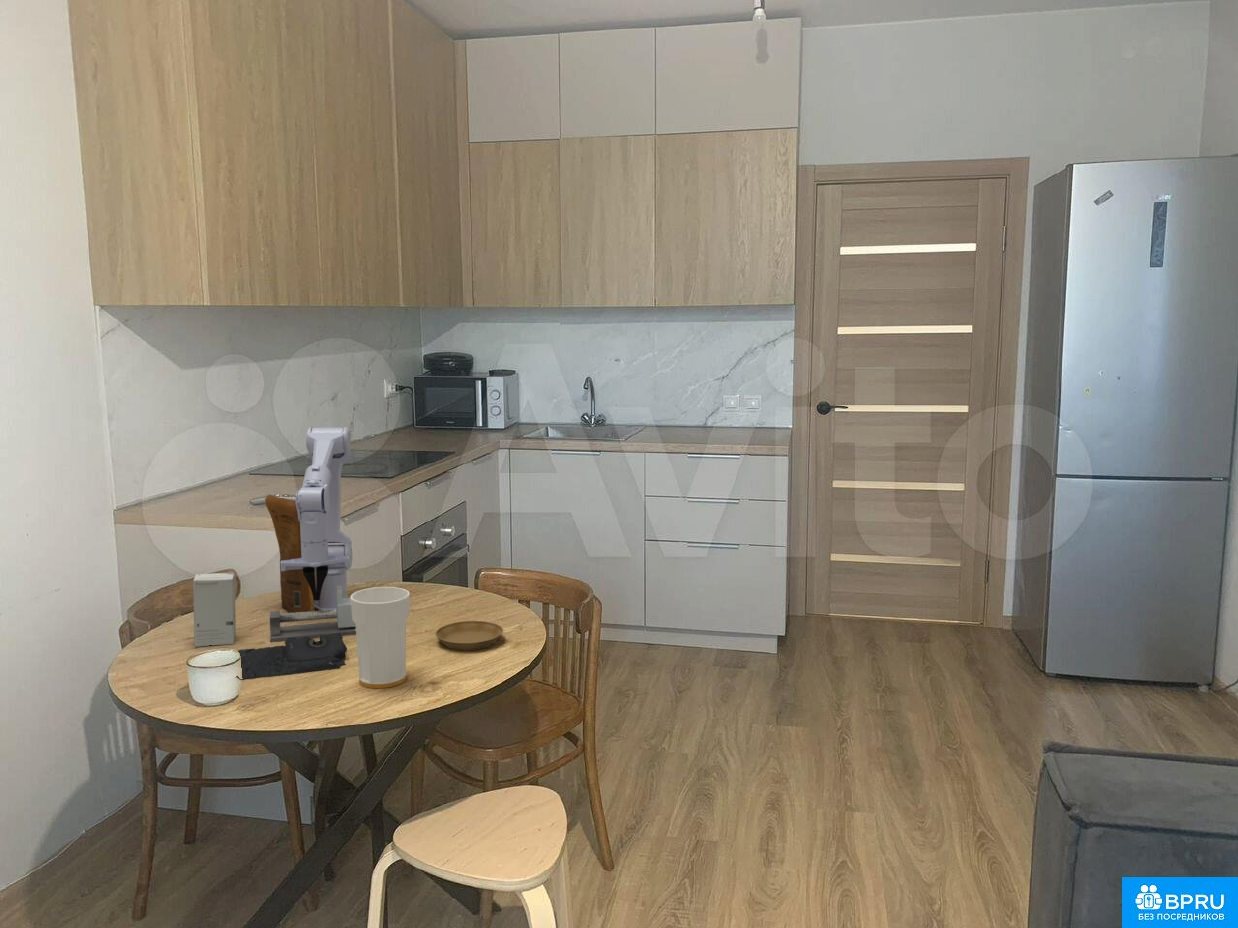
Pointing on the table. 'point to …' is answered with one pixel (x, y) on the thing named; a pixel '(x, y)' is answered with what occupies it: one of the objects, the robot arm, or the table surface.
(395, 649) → the cup
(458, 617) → the table surface
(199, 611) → the skincare box
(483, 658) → the table surface
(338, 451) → the robot arm
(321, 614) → the pipe
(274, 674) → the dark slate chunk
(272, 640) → the board
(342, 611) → the sleeve
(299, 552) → the pancake mix bag
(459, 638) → the plant saucer
